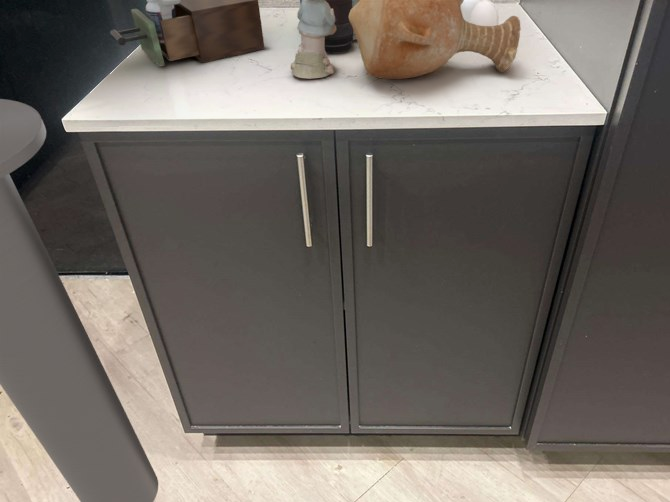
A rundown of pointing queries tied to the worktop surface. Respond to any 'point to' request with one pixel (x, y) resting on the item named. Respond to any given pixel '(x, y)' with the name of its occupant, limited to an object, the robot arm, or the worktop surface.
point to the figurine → (313, 39)
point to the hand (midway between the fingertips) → (162, 20)
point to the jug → (425, 36)
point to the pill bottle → (157, 17)
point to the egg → (484, 14)
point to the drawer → (174, 33)
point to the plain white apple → (468, 8)
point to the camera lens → (340, 27)
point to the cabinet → (225, 27)
